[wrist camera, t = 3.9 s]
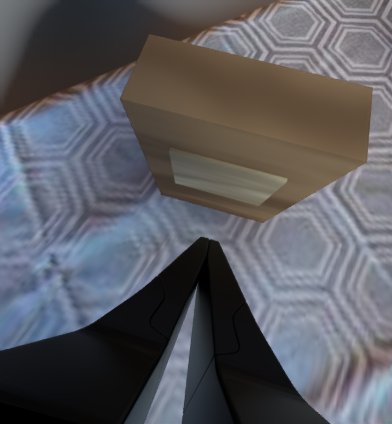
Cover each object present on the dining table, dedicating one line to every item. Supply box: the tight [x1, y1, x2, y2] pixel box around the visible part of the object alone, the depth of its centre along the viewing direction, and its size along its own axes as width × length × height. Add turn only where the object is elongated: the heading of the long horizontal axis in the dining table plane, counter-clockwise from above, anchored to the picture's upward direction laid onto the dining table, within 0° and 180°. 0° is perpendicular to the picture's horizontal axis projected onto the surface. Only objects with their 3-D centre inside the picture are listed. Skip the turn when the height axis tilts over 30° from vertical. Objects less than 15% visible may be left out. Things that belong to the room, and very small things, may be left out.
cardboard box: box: [120, 35, 373, 223], centre depth 16 cm, size 4×11×13 cm, turn 74°
